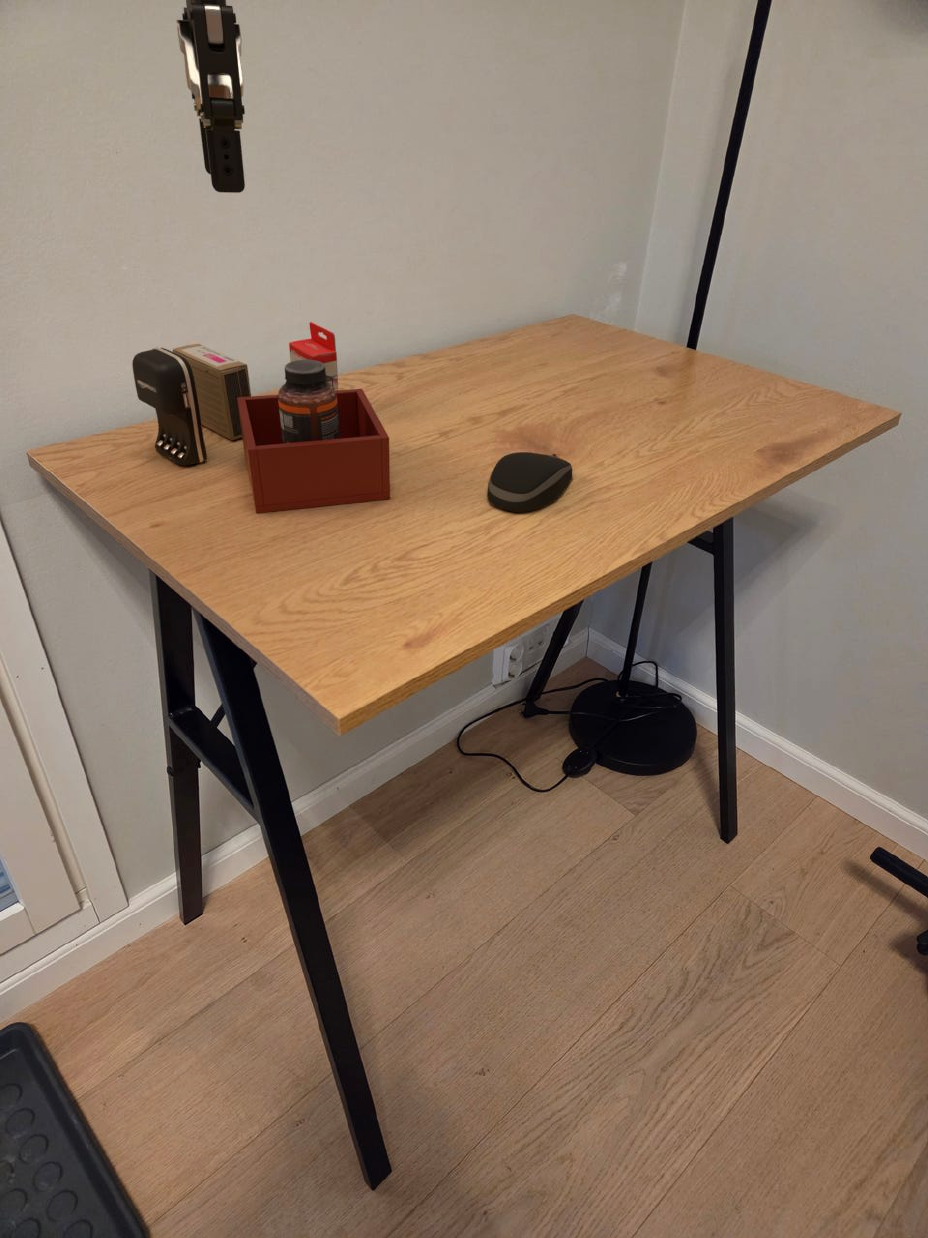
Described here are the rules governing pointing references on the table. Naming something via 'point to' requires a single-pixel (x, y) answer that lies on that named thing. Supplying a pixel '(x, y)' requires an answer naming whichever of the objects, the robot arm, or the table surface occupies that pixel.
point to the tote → (315, 457)
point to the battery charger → (171, 404)
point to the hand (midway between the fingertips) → (224, 182)
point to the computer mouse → (528, 481)
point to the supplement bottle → (307, 404)
